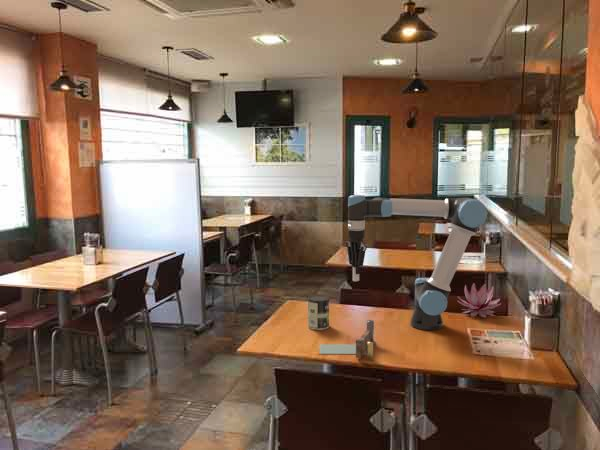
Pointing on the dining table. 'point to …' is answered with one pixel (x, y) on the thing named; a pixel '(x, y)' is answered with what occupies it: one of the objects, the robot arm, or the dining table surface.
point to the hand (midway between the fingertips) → (355, 280)
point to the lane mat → (337, 349)
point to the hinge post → (371, 327)
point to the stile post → (369, 350)
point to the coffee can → (318, 312)
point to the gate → (362, 343)
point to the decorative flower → (479, 301)
